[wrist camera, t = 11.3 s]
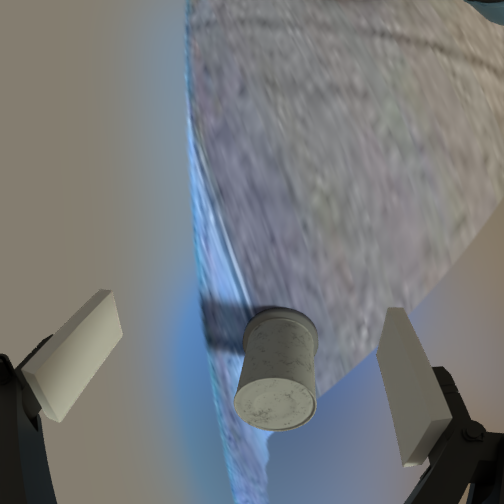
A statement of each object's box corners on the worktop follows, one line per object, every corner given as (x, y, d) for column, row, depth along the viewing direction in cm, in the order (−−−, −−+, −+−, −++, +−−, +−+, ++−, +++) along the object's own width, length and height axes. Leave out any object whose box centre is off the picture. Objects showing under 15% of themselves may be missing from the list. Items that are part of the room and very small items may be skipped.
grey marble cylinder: (240, 322, 45) (223, 381, 33) (308, 313, 43) (311, 373, 32) (255, 373, 48) (244, 433, 36) (317, 365, 46) (320, 427, 35)
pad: (307, 299, 44) (308, 305, 43) (324, 358, 47) (325, 364, 46) (233, 317, 47) (231, 323, 45) (257, 372, 50) (256, 378, 48)
